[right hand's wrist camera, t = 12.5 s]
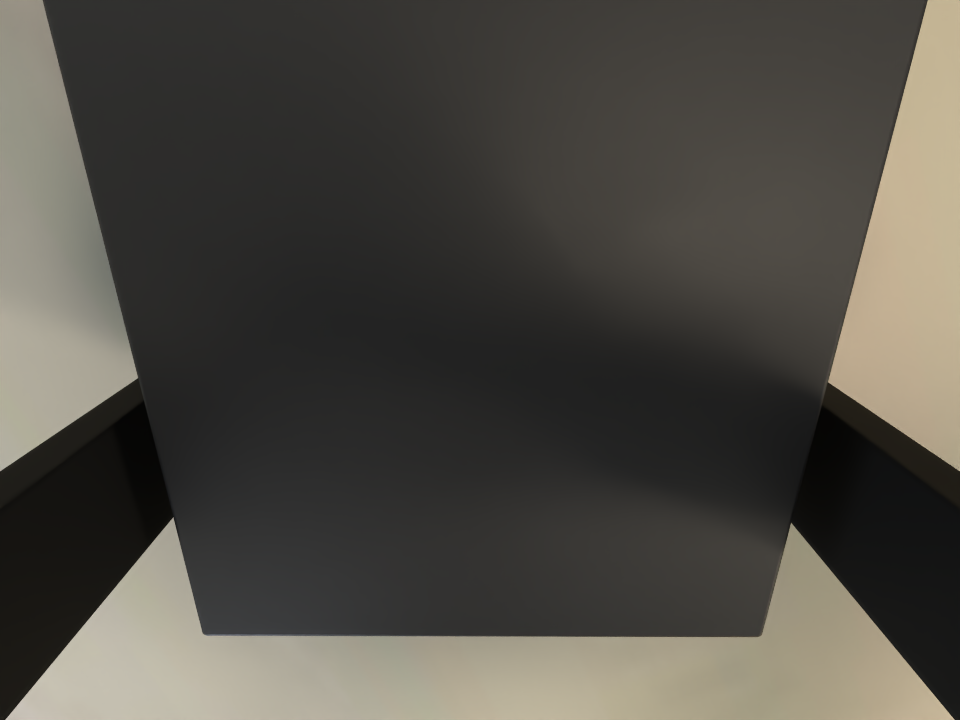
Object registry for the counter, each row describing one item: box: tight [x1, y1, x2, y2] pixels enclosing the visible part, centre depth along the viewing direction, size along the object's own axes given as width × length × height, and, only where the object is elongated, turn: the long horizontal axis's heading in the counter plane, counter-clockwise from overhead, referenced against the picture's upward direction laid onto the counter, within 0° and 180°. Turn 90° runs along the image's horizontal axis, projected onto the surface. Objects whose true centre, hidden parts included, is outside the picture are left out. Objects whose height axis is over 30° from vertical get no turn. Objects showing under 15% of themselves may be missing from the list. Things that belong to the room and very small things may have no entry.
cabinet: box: [43, 0, 928, 637], centre depth 11 cm, size 19×11×8 cm, turn 0°
